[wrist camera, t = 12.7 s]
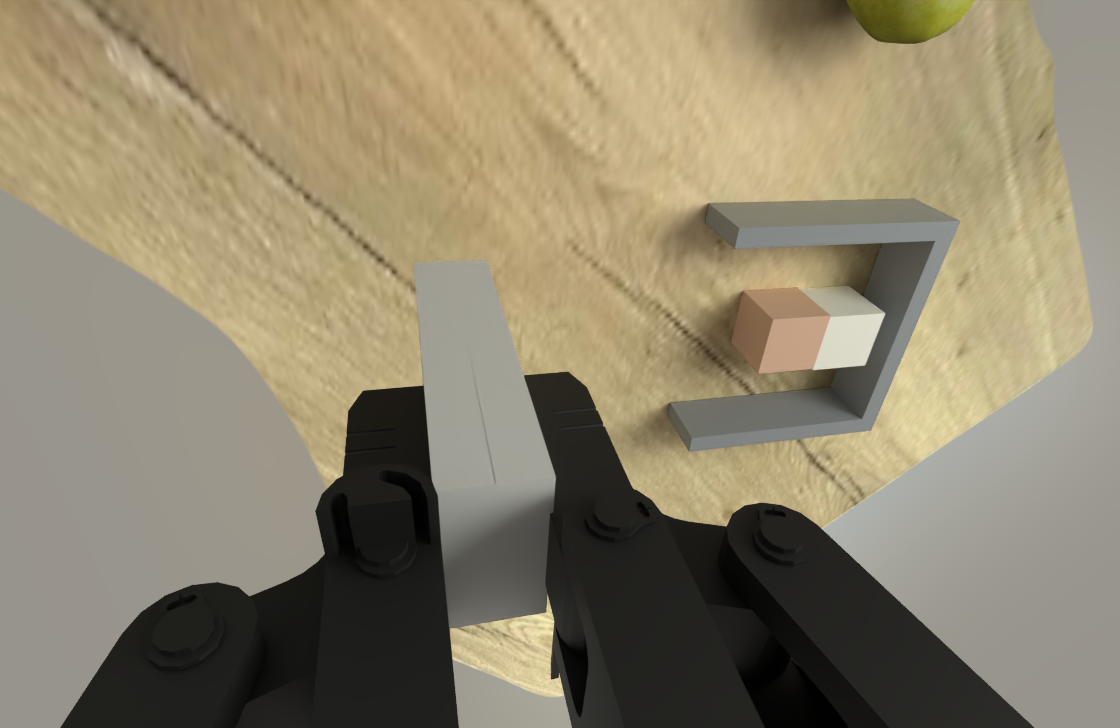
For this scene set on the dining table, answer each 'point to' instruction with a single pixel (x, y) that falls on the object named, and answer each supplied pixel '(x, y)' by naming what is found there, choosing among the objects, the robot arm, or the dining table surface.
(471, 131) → the dining table surface
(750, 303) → the tile
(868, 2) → the apple
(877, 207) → the box
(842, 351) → the tile
